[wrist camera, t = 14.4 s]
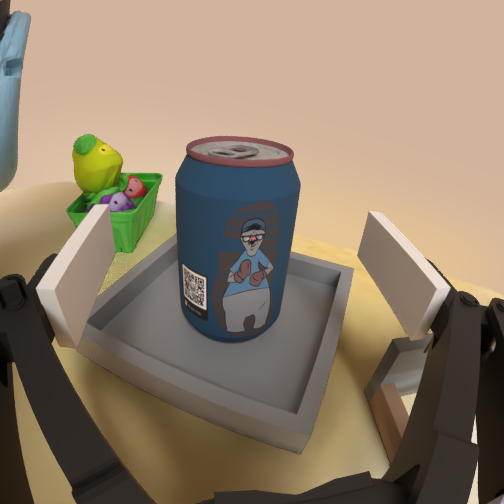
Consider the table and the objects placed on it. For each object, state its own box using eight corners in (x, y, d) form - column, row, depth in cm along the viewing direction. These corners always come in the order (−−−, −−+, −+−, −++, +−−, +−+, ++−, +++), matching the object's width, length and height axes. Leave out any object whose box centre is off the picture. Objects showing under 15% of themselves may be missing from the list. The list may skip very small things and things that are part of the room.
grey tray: (76, 350, 19) (65, 324, 17) (188, 246, 32) (188, 224, 30) (300, 454, 14) (310, 436, 13) (346, 291, 27) (353, 268, 26)
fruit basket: (140, 261, 29) (130, 143, 23) (63, 256, 28) (43, 148, 22) (165, 211, 38) (164, 122, 33) (102, 209, 38) (95, 125, 32)
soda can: (227, 275, 27) (235, 130, 20) (296, 314, 23) (327, 152, 17) (162, 314, 22) (149, 145, 16) (234, 369, 18) (248, 173, 12)
